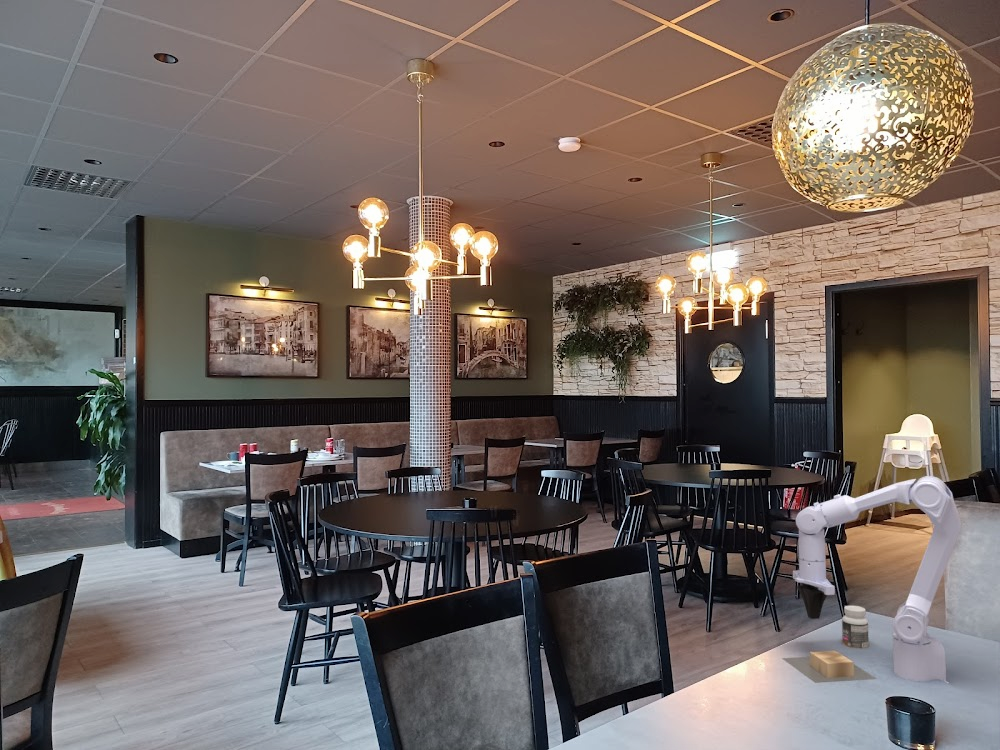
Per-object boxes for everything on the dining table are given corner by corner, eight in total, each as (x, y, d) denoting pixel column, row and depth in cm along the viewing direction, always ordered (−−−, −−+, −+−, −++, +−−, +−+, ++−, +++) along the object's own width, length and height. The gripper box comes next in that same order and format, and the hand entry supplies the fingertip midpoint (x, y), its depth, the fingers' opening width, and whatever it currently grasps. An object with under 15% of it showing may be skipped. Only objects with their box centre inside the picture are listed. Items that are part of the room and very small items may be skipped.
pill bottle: (839, 644, 177) (838, 604, 177) (863, 645, 176) (862, 605, 176) (847, 653, 171) (846, 611, 171) (872, 654, 170) (871, 612, 171)
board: (839, 660, 167) (838, 654, 167) (877, 684, 153) (877, 678, 153) (782, 663, 165) (782, 658, 165) (815, 688, 151) (815, 682, 151)
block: (834, 650, 161) (853, 662, 154) (835, 664, 161) (853, 676, 154) (809, 652, 161) (827, 663, 154) (810, 665, 161) (827, 677, 154)
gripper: (780, 552, 173) (781, 609, 173) (813, 567, 159) (814, 628, 159) (807, 551, 174) (809, 607, 174) (842, 565, 160) (844, 627, 159)
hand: (813, 617), depth 166 cm, fingers closed
